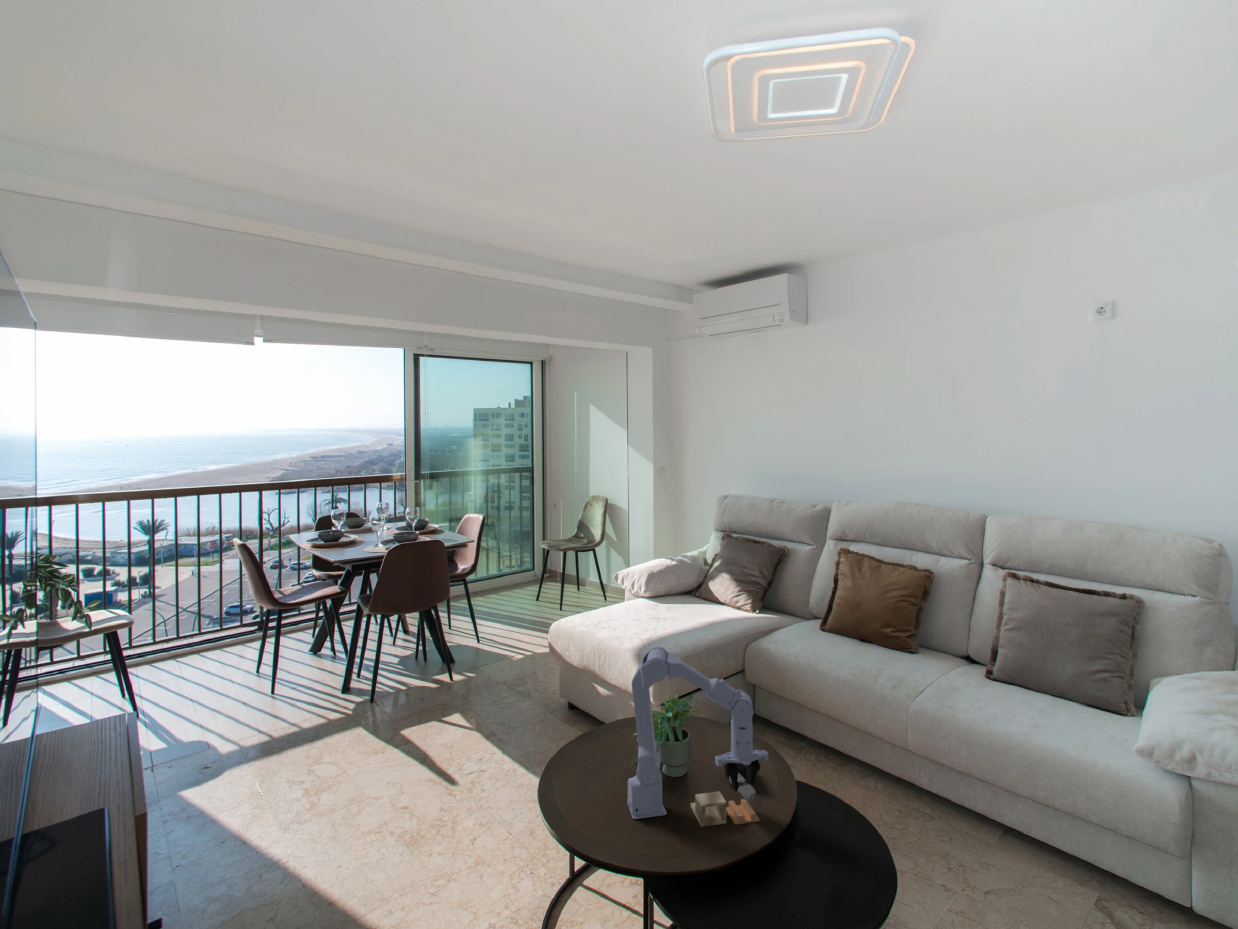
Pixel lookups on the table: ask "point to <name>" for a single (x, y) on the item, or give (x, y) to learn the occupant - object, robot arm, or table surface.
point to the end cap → (742, 771)
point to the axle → (745, 789)
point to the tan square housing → (709, 808)
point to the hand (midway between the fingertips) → (742, 788)
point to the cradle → (741, 812)
